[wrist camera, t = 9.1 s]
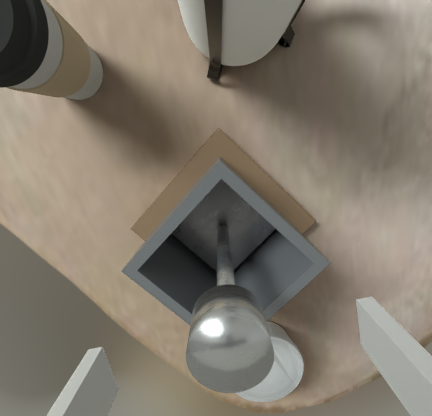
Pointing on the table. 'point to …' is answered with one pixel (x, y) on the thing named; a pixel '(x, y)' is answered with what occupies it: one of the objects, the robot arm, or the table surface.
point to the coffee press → (238, 29)
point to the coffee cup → (45, 52)
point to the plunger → (226, 294)
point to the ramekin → (278, 369)
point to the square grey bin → (253, 265)
